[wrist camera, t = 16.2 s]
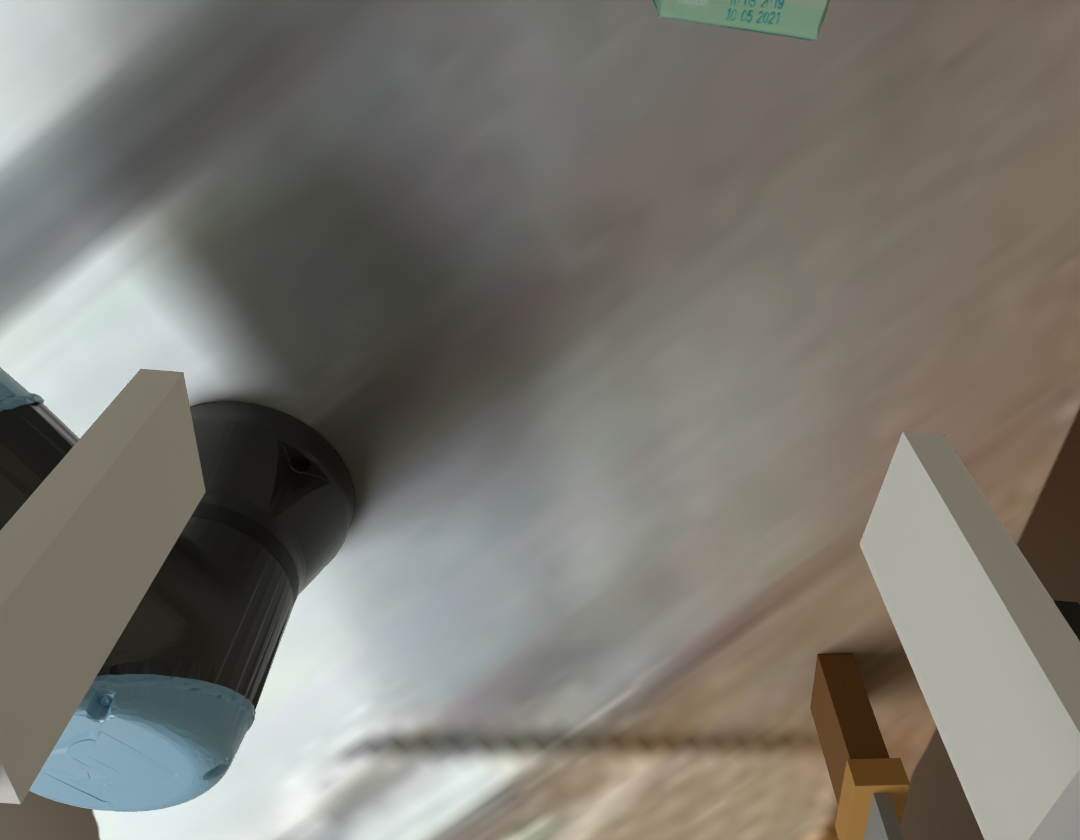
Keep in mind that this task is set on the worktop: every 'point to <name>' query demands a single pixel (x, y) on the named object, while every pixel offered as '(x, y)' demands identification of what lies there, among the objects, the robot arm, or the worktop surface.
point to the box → (751, 15)
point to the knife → (856, 754)
